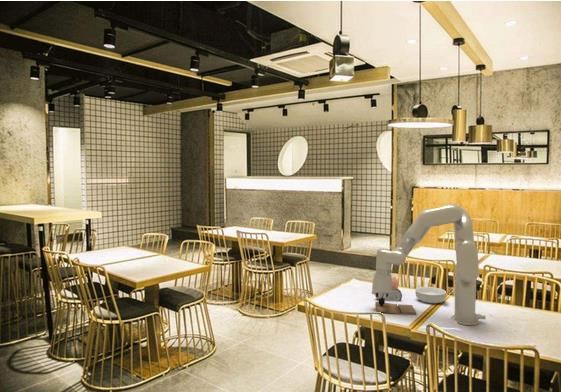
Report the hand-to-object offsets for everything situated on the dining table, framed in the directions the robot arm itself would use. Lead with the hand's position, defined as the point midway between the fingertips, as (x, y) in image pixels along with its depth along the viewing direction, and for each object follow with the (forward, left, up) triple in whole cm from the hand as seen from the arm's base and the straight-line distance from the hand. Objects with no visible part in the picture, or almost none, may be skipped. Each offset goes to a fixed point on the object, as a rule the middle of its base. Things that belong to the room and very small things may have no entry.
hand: (381, 305), depth 217 cm
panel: (-3, 0, -2) cm, 4 cm away
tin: (-6, -17, -4) cm, 19 cm away
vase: (-7, -34, -4) cm, 35 cm away
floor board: (-6, 0, -3) cm, 7 cm away
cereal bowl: (-30, -20, -4) cm, 36 cm away
